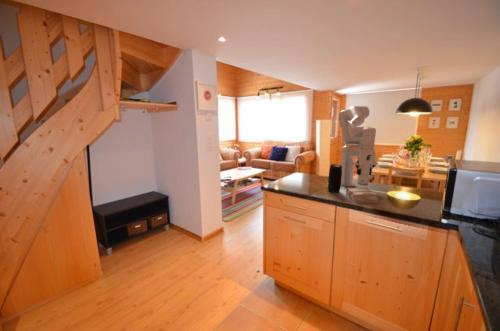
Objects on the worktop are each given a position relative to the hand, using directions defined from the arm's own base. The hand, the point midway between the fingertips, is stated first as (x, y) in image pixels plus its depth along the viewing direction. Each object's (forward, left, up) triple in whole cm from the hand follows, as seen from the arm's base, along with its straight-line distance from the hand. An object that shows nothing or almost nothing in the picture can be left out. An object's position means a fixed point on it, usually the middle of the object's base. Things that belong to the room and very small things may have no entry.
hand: (363, 174), depth 147 cm
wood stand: (0, 0, -17) cm, 17 cm away
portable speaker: (-14, -13, -17) cm, 25 cm away
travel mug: (0, 0, -7) cm, 7 cm away
